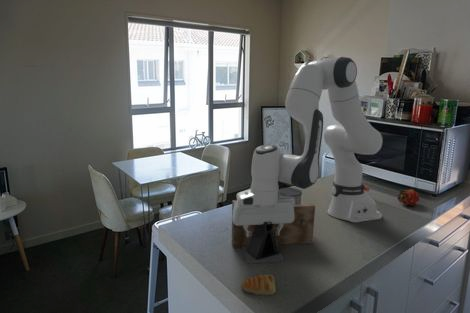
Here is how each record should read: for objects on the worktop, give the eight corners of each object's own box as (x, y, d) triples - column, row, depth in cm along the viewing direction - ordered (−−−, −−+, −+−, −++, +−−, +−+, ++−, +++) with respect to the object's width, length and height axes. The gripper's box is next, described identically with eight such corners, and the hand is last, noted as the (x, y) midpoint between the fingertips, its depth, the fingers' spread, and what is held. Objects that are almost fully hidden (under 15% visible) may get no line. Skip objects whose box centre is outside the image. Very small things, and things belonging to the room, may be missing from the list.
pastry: (242, 297, 91) (242, 284, 91) (240, 282, 98) (240, 270, 97) (277, 296, 92) (277, 283, 91) (272, 281, 99) (273, 269, 98)
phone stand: (256, 260, 109) (257, 225, 106) (246, 251, 114) (247, 218, 111) (279, 253, 113) (281, 220, 110) (269, 246, 118) (270, 213, 116)
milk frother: (301, 223, 138) (303, 188, 135) (296, 240, 124) (298, 202, 120) (267, 218, 143) (268, 185, 139) (258, 234, 128) (259, 197, 125)
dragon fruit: (399, 210, 159) (409, 208, 167) (417, 204, 153) (426, 202, 161) (391, 193, 161) (401, 192, 169) (408, 186, 156) (418, 185, 164)
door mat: (275, 245, 120) (275, 244, 120) (284, 261, 109) (284, 260, 109) (241, 247, 118) (241, 245, 118) (247, 263, 107) (247, 262, 107)
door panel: (309, 238, 125) (312, 197, 122) (314, 245, 120) (317, 202, 117) (231, 242, 121) (232, 200, 117) (233, 249, 116) (234, 205, 113)
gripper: (292, 191, 114) (290, 230, 117) (231, 193, 111) (231, 233, 114) (298, 198, 108) (296, 238, 111) (234, 200, 105) (234, 241, 108)
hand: (262, 235), depth 112 cm, fingers open, 8 cm apart
